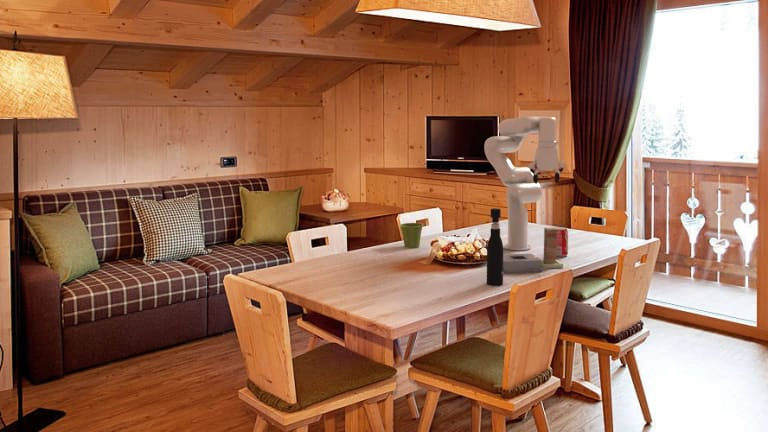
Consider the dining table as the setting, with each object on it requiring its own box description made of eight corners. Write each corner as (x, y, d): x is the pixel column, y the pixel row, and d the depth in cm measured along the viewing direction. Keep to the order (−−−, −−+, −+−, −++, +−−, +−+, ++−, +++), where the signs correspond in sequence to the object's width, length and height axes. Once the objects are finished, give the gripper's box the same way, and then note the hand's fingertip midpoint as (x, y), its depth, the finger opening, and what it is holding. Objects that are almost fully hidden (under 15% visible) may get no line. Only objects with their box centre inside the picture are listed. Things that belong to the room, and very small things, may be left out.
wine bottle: (485, 282, 301) (485, 208, 296) (500, 282, 301) (501, 207, 297) (488, 286, 295) (489, 210, 290) (504, 285, 295) (505, 210, 290)
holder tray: (536, 264, 332) (536, 260, 332) (555, 263, 333) (556, 259, 333) (543, 268, 323) (543, 264, 323) (563, 267, 325) (563, 263, 324)
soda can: (568, 257, 345) (568, 229, 343) (551, 257, 347) (552, 229, 345) (567, 254, 352) (568, 226, 350) (551, 253, 354) (552, 226, 352)
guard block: (495, 266, 329) (495, 254, 329) (531, 264, 331) (531, 253, 331) (504, 273, 316) (504, 261, 315) (541, 271, 318) (541, 260, 317)
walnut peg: (543, 263, 330) (544, 227, 328) (552, 263, 330) (553, 227, 328) (546, 265, 326) (547, 229, 324) (555, 265, 327) (556, 229, 324)
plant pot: (411, 243, 382) (411, 221, 380) (428, 246, 374) (428, 224, 372) (394, 247, 374) (394, 224, 373) (411, 250, 366) (411, 227, 364)
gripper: (562, 144, 343) (561, 181, 346) (525, 144, 341) (525, 182, 344) (568, 145, 336) (567, 183, 339) (531, 145, 334) (530, 184, 336)
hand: (546, 182), depth 341 cm, fingers open, 9 cm apart
